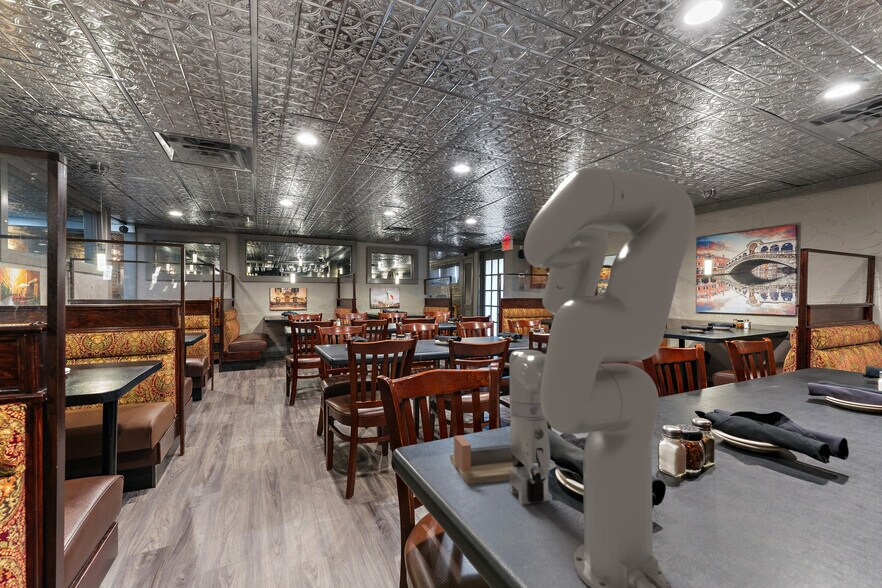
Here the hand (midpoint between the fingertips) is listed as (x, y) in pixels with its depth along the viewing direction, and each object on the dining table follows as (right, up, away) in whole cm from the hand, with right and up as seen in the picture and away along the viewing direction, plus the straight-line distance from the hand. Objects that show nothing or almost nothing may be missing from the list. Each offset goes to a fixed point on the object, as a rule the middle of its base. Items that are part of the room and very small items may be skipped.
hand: (528, 492), depth 82 cm
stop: (-13, +1, +12) cm, 18 cm away
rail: (-5, +1, +14) cm, 15 cm away
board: (-6, -1, +14) cm, 15 cm away
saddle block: (0, -1, 0) cm, 1 cm away
